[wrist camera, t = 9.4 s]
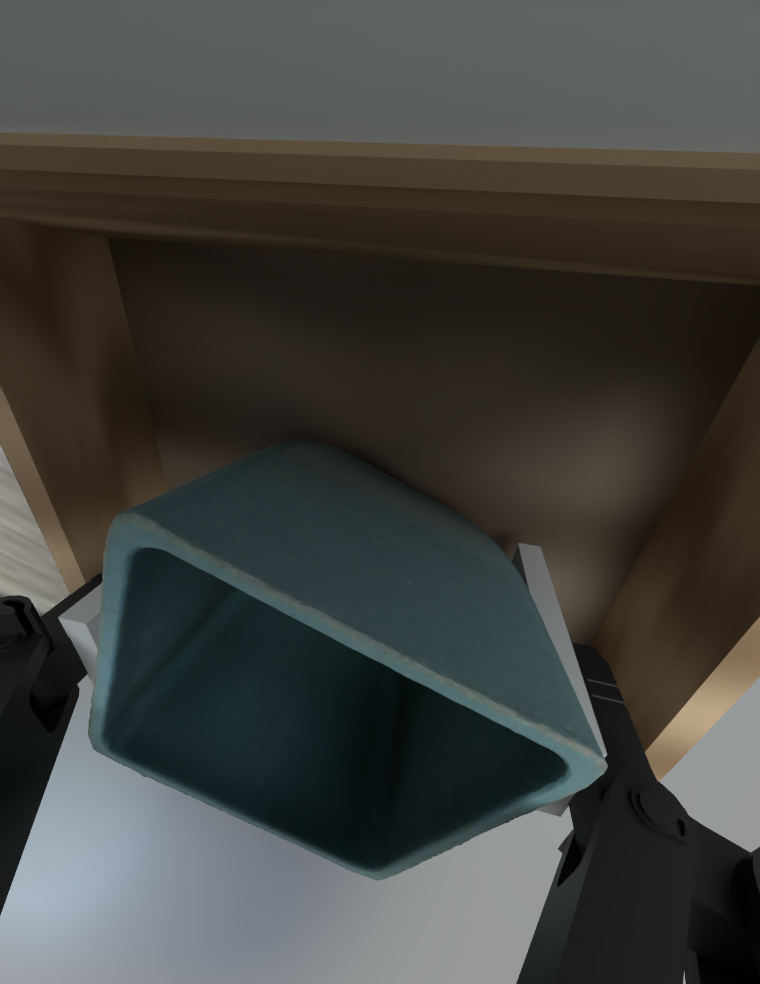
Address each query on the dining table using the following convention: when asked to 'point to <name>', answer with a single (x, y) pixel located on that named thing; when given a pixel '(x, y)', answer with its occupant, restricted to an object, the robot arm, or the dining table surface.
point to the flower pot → (332, 661)
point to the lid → (391, 93)
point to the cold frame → (417, 384)
